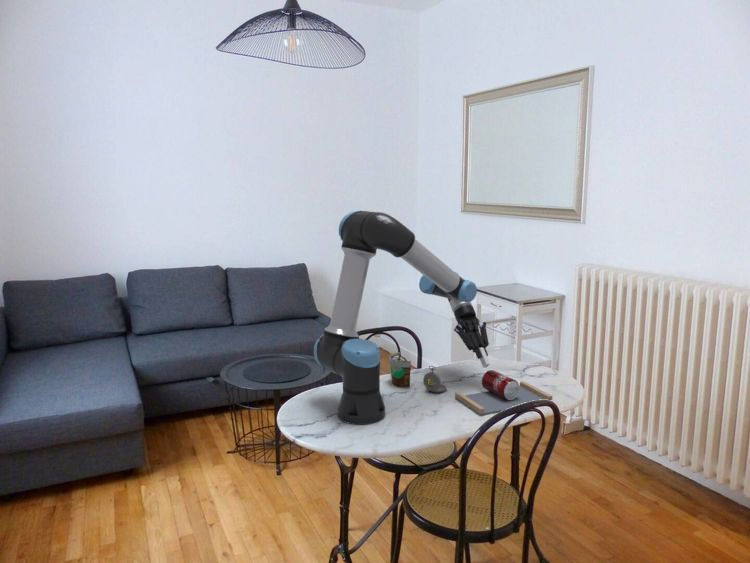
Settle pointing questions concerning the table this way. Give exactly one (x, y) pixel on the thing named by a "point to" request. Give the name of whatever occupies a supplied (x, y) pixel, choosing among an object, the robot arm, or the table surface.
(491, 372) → the soda can
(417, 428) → the table surface
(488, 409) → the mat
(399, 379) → the food container
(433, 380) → the pocket watch
